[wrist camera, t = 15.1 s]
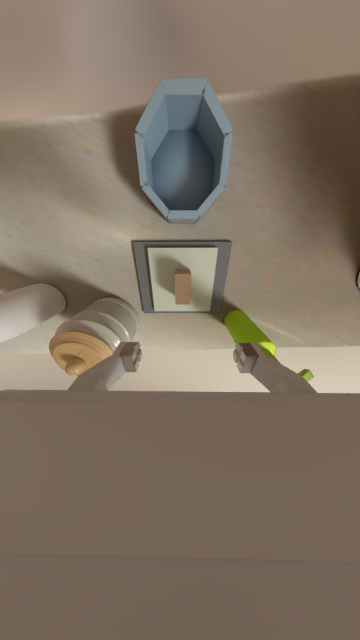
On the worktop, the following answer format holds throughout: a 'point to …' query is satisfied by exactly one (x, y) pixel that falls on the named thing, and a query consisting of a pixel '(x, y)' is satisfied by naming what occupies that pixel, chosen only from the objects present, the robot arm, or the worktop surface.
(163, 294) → the cover
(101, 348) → the jar
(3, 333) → the milk bottle
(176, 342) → the worktop surface
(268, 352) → the soap dispenser
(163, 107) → the bowl
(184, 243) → the mat
